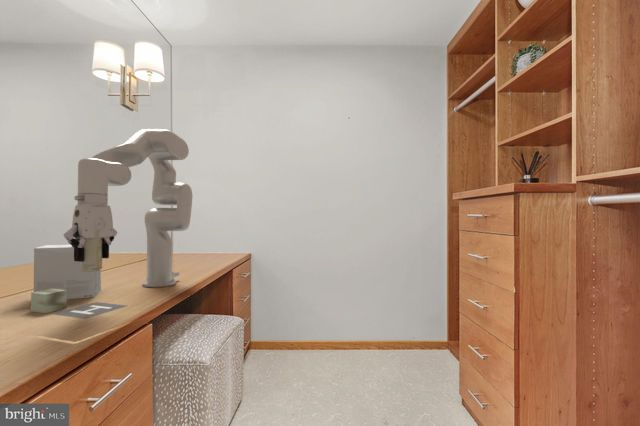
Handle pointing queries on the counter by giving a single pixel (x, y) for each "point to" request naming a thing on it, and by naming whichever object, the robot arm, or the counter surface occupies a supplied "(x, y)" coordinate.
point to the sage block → (48, 300)
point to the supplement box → (63, 272)
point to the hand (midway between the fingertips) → (92, 259)
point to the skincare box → (92, 254)
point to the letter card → (90, 310)
